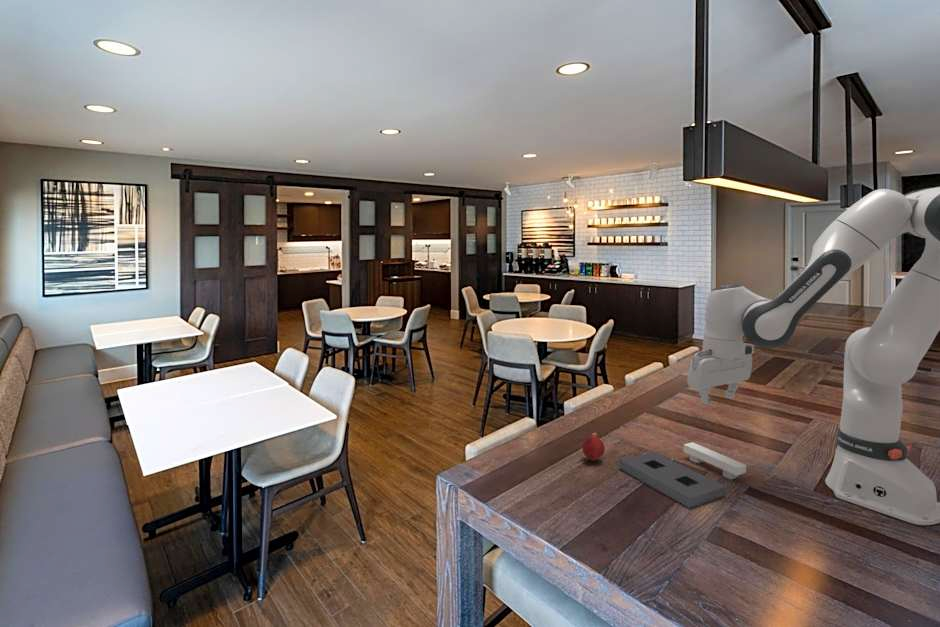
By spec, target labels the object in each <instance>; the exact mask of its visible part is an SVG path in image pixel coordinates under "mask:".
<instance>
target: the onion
mask: <svg viewBox="0 0 940 627" xmlns="http://www.w3.org/2000/svg"><path fill="white" fill-rule="evenodd" d="M581 446H582V453H583V455H584V456H585V457H586V458H587V459H589V460H590V461H592V462H595V461H597V460H599V459H600V458H601V457H603V455H604V453H605V451H606V450H605V449H606V448H605V445H604V442H603V441H602V439H601V438H600V437H598V434H597V433H596V432H594V433H592V434H591V435H590V436H588V437H587V438H585V439H584V441H583V443H582V445H581Z"/></svg>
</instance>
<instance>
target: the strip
mask: <svg viewBox="0 0 940 627" xmlns="http://www.w3.org/2000/svg"><path fill="white" fill-rule="evenodd" d="M682 452H683V453H685V454H688V455H689V461H690V460H691V461H690V462H692V461H693V463H694V462H695V463H694V464H696V463H698V464H701V463H700V462H702V463H704V462H706V463H708V464H710V465H711V466H714V467H716V468H718V469H721V470H722V477H725V478H727V479H728V480H734V479H737V478H738V476H740V475H743V474H746V472H747V464H745V463H742V462H740V461H737V460H735V459H733V458H730V457H728V456H726V455H723V454H721V453H719V452H716V451H714V450H712V449H709V448H707V447H705V446H703V445H700V444H697V443H695V442H693V441H692V442H688V443H684V444H683V450H682Z"/></svg>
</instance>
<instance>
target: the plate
mask: <svg viewBox="0 0 940 627" xmlns="http://www.w3.org/2000/svg"><path fill="white" fill-rule="evenodd" d="M653 468H654V469H653ZM620 469H622V470H623V471H622V470H621V471H622V472H624V471H625V472H624V473H626V472H627V473H628V474H627V473H626V474H627V475H629V474H630V475H629V476H631V475H632V476H631V477H633V476H634V477H635V478H634V477H633V478H634V479H636V478H637V479H636V480H638V479H639V480H638V481H640V482H642V483H643V484H645V485H647V486H648V487H650V488H652V489H654V490H655V491H657V492H659V493H661V494H663V495H664V494H665V496H666V497H668V498H670V499H671V500H673V501H675V502H677V501H678V502H677V503H679V504H680V503H681V505H682V506H684V507H686V508H688V509H693V508H696V507H699V506H701V505H702V506H703V505H705V504H707V503H710V502H713V501H716V500H719V499H722V498H725V497H726V491H727V490H726V489H727V486H726V485H724V484H722V483H719V482H718V481H716V480H714V479H711V478H709V477H707V476H705V475H704V474H701V473H700V472H696V471H695V470H692V469H691V468H688V467H686V466H685V465H682V464H681V463H679V462H676V461H674V460H672V459H671V458H668V457H665V456H664V455H661V454H659V453H657V452H655V451H649V452H646V453H641V454H638V455H634V456H630V457H627V458H622V459H620V460H619V470H620Z"/></svg>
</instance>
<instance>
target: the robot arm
mask: <svg viewBox="0 0 940 627" xmlns="http://www.w3.org/2000/svg"><path fill="white" fill-rule="evenodd" d="M903 234H906V235H909V236H915V237H920V238H922V239H925V246H924V250H923V252H922V254H921V257H920V258H919V259H918V260H917V261H916V262H915V263H914V264H913V266H912V267H911V268H910V270H909V271H908V272H907V273H906V275H905V276H904V277H903V278H902V280H901V281H900V282H899V283H898V284H897V285H896V287H895V288H894V289H893V291H892V292H891V293H890V294H889V295H888V297H887V298H886V300H885V302H884V304H883V306H882V308H881V310H880V312H879V314H878V316H877V317H876V319H875V320H874V322H873V323H872V324H871V326H869V327H867V326H866V327H863V328H859V329H857V330H856V331H854V332H853V333H851V334H850V335H849V337H848V338H847V340H846V343H845V347H844V358H843V359H844V361H843V382H842V385H843V389H842V390H843V392H842V394H843V396H842V403H841V404H842V405H841V406H842V407H841V413H840V414H841V415H840V424H839V427H837V429H836V430H837V431H836V436H835V446H834V448H835V449H836V450H835V453H834V458H833V462H832V465H831V467H830V469H829V471H828V474H827V476H826V477H825V480H824V482H825V484H826V485H827V487H828V488H829V489H830V490H832V491H833V492H834V496H835V497H836V498H837V499H840V500H843V501H846V502H849V503H852V504H854V505H857V506H860V507H863V508H866V509H869V510H872V511H875V512H878V513H879V514H880V513H881V514H883V515H887V516H890V517H892V518H896V519H898V520H901V521H904V522H907V523H909V524H912V525H913V524H914V525H918V526H930V525H936V524H940V501H937V500H938V498H937V490H936V485H935V483H934V482H933V481H932V480H931V478H930V477H928V476H926V474H925V473H924V472H922V471H921V470H920V468H918V467H917V466H916V465H915V464H914V463H913V462H911V460H909V459H908V452H909V451H911V449H912V448H911V447H912V445H907V446H906V445H905V444H904V443H903V442H902V441H901V439H900V434H901V433H900V432H901V427H902V426H901V425H902V417H903V411H904V410H903V409H904V406H903V405H904V404H903V394H902V393H903V392H902V391H903V390H902V385H903V384H906V383H907V382H909V381H910V380H911V379H912V378H913V377H914V375H915V374H916V372H917V370H918V367H919V364H920V362H922V360H923V359H924V357H925V355H926V353H927V352H928V351H929V349H930V348H931V346H932V344H933V342H934V340H935V338H936V336H937V335H938V333H939V332H940V186H936V187H925V188H920V189H915V190H912V191H910V192H908V193H906V194H905V193H904V194H903V193H902V192H899V191H897V190H894V189H888V188H879V189H875V190H872V191H871V192H869V193H867V194H866V195H864V196H863V197H862V198H860V199H858V201H856V202H855V203H853V204H852V205H851V206H849V207H848V208H847V209H846V210H844V211H843V212H842V213H841V214H840V215H838V217H836V218H835V219H834V220H833V221H832V222H831V223H830V224H829V225H828V226H827V227H826V228H825V230H823V231H822V233H821V234H820V235H819V237H818V238H817V239H816V241H815V242H814V244H813V245H812V252H811V256H810V259H809V261H808V264H807V265H806V267H805V268H804V270H803V271H802V272H801V273H800V274H799V275H798V276H797V277H796V278H795V279H794V280H793V281H791V283H790V284H789V285H788V286H787V287H786V288H785V289H784V290H783V291H781V293H780V294H778V295H777V297H775V298H774V299H770V298H766V297H764V296H761V295H758V294H757V293H754V292H753V291H751V290H749V289H748V288H746V287H745V285H742V284H736V283H733V284H725V285H724V284H723V285H718V286H716V287H713V289H711V291H710V292H709V293H708V296H707V299H706V300H707V301H706V306H705V313H704V314H705V316H704V321H705V330H704V332H703V338H702V339H703V340H702V350H700V351H697V352H696V353H695V354H694V355H693V356H692V359H691V361H690V364H689V368H688V373H687V379H686V381H687V384H688V386H689V388H690V387H691V388H693V389H696V390H697V391H698V394H699V395H700V396H699V397H700V399H699V400H700V403H701V404H703V405H708V404H710V403H711V396H709V395H708V392H709V391H710V388H712V387H718V386H724V385H728V387H727V389H726V390H725V391H724V398H727V399H734V398H735V396H736V393H735V392H736V391H737V389H738V388H739V385H740V382H744V381H748V380H749V379H750V377H751V375H752V367H753V356H752V355H753V354H754V353H755V346H756V347H758V348H760V349H767V350H768V349H769V350H770V349H776V348H779V347H782V346H783V345H785V344H787V343H788V342H789V340H790V339H791V338H792V337H793V335H794V333H795V331H796V329H797V326H798V323H799V321H801V318H802V317H803V316H804V315H805V314H806V313H807V312H808V311H809V310H810V309H811V308H812V307H814V305H815V304H816V303H817V302H819V300H821V299H822V297H824V295H825V294H827V293H828V291H830V290H831V289H832V288H833V287H834V286H835V285H837V284H838V283H839V282H840V281H842V280H843V279H844V278H846V277H848V276H849V275H850V274H852V273H853V272H854V271H856V270H858V269H859V268H860V267H862V266H863V265H864V264H866V263H867V262H868V261H870V260H871V259H872V258H873V257H875V256H876V255H877V254H878V253H879V252H880V251H882V250H883V249H884V247H885V246H887V245H888V244H889V243H891V241H892V240H894V239H895V238H897V237H899V236H900V235H903ZM743 337H745V339H746V340H747V341H748V342H749V343H751V344H752V345H751V344H748V343H745V342H743Z"/></svg>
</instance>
